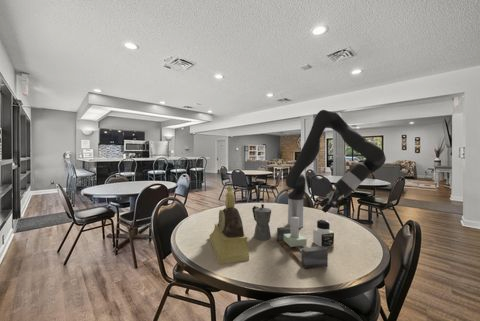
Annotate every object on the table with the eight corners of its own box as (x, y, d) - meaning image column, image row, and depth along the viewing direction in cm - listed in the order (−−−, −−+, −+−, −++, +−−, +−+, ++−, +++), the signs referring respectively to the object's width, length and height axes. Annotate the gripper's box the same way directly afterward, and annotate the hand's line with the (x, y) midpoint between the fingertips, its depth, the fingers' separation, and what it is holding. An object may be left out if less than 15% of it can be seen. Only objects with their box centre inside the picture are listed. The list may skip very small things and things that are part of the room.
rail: (277, 241, 111) (277, 227, 111) (294, 239, 114) (294, 226, 113) (305, 269, 84) (305, 251, 84) (327, 266, 86) (327, 249, 86)
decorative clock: (209, 238, 115) (209, 182, 114) (232, 236, 118) (232, 182, 118) (219, 264, 88) (219, 191, 87) (249, 260, 91) (249, 190, 91)
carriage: (283, 240, 106) (283, 216, 106) (298, 238, 108) (298, 215, 108) (290, 246, 98) (291, 221, 98) (306, 245, 100) (306, 219, 100)
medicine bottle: (321, 248, 103) (321, 223, 103) (312, 242, 110) (313, 219, 110) (334, 246, 105) (334, 222, 105) (324, 240, 112) (325, 218, 111)
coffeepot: (277, 239, 114) (277, 205, 113) (263, 243, 109) (263, 208, 108) (259, 230, 127) (259, 200, 126) (246, 233, 122) (246, 202, 121)
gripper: (337, 176, 105) (314, 199, 108) (345, 180, 91) (317, 207, 94) (349, 186, 104) (325, 209, 107) (359, 193, 90) (330, 219, 93)
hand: (321, 208), depth 101 cm, fingers open, 8 cm apart
